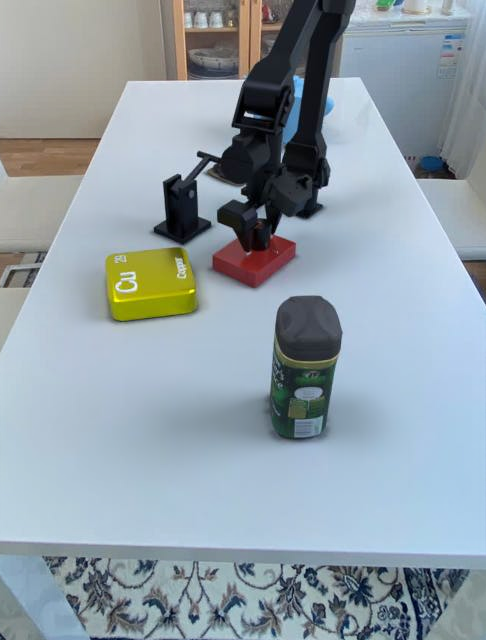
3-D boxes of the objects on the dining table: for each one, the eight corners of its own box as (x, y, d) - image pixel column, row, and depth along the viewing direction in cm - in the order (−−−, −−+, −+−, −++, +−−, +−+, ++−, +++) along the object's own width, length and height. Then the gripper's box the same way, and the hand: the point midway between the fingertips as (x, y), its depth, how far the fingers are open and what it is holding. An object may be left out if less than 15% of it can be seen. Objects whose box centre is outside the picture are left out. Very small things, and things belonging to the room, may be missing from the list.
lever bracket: (182, 215, 120) (179, 167, 113) (211, 226, 117) (210, 178, 109) (153, 232, 116) (148, 183, 108) (183, 245, 112) (179, 195, 105)
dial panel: (253, 240, 113) (253, 225, 110) (295, 256, 108) (296, 242, 106) (212, 269, 106) (212, 254, 104) (255, 288, 102) (255, 273, 99)
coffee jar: (265, 392, 84) (273, 288, 70) (318, 391, 84) (336, 286, 70) (271, 443, 77) (281, 339, 64) (329, 441, 77) (351, 337, 64)
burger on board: (204, 174, 133) (203, 158, 131) (228, 162, 137) (228, 147, 134) (237, 188, 128) (237, 172, 125) (261, 175, 132) (262, 159, 129)
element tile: (198, 312, 97) (197, 289, 94) (112, 323, 96) (107, 300, 92) (186, 265, 107) (185, 242, 104) (108, 274, 106) (104, 251, 102)
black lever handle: (201, 156, 114) (198, 146, 112) (222, 163, 112) (220, 153, 110) (167, 195, 112) (163, 186, 110) (188, 203, 109) (184, 194, 107)
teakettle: (333, 150, 141) (342, 85, 130) (261, 158, 138) (264, 93, 127) (307, 122, 153) (313, 60, 142) (240, 129, 150) (242, 67, 140)
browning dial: (257, 237, 108) (258, 214, 104) (274, 244, 106) (276, 220, 102) (244, 246, 106) (245, 222, 102) (261, 253, 104) (263, 229, 100)
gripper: (271, 193, 86) (265, 280, 97) (334, 151, 95) (323, 235, 107) (214, 174, 90) (215, 258, 102) (280, 136, 100) (274, 217, 112)
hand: (259, 242), depth 105 cm, fingers open, 8 cm apart
